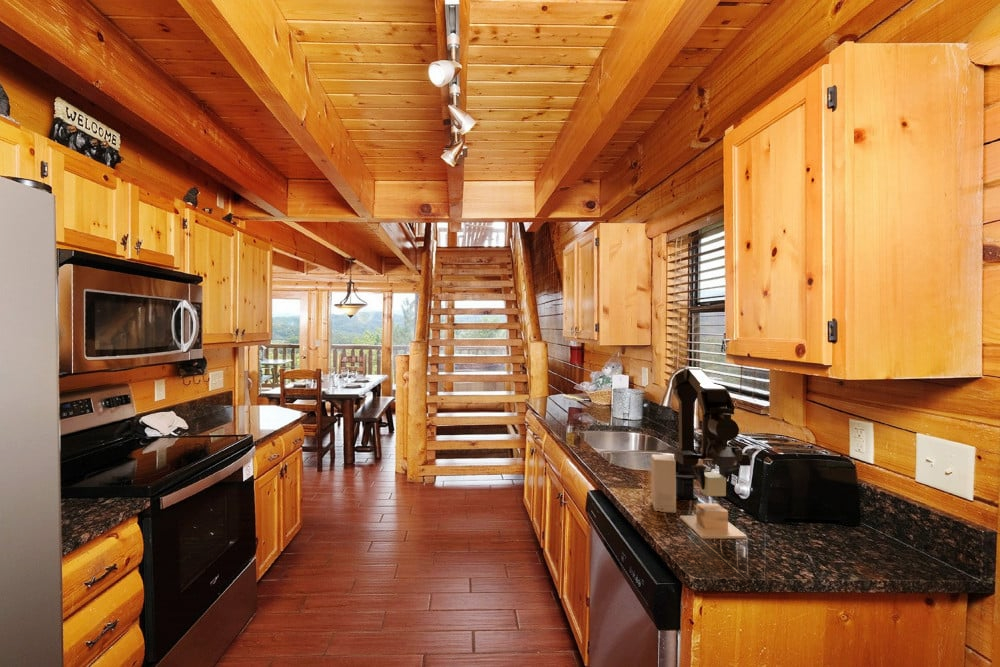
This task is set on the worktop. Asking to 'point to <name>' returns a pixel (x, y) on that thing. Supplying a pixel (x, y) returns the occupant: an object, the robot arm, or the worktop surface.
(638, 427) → the worktop surface
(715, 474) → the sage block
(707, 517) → the maple block
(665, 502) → the skincare box
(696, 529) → the baseplate
